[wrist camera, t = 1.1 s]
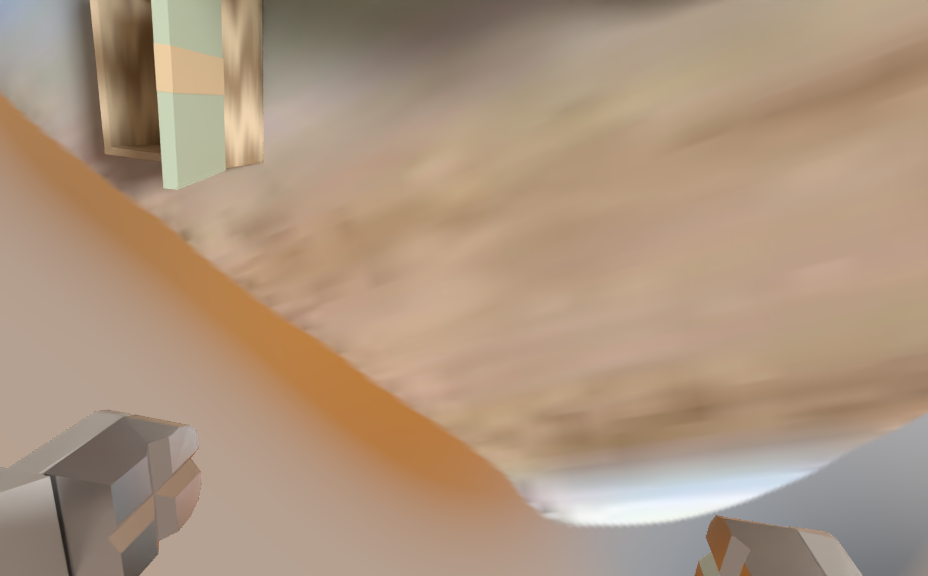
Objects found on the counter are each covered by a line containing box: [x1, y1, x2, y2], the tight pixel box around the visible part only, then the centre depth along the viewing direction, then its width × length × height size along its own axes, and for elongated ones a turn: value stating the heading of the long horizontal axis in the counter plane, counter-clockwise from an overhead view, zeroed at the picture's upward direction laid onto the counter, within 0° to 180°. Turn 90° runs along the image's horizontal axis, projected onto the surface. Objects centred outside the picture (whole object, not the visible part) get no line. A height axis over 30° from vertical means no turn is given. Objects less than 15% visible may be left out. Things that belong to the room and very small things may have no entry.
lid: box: [151, 0, 226, 190], centre depth 33 cm, size 13×9×1 cm
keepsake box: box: [90, 0, 263, 168], centre depth 41 cm, size 13×9×7 cm
